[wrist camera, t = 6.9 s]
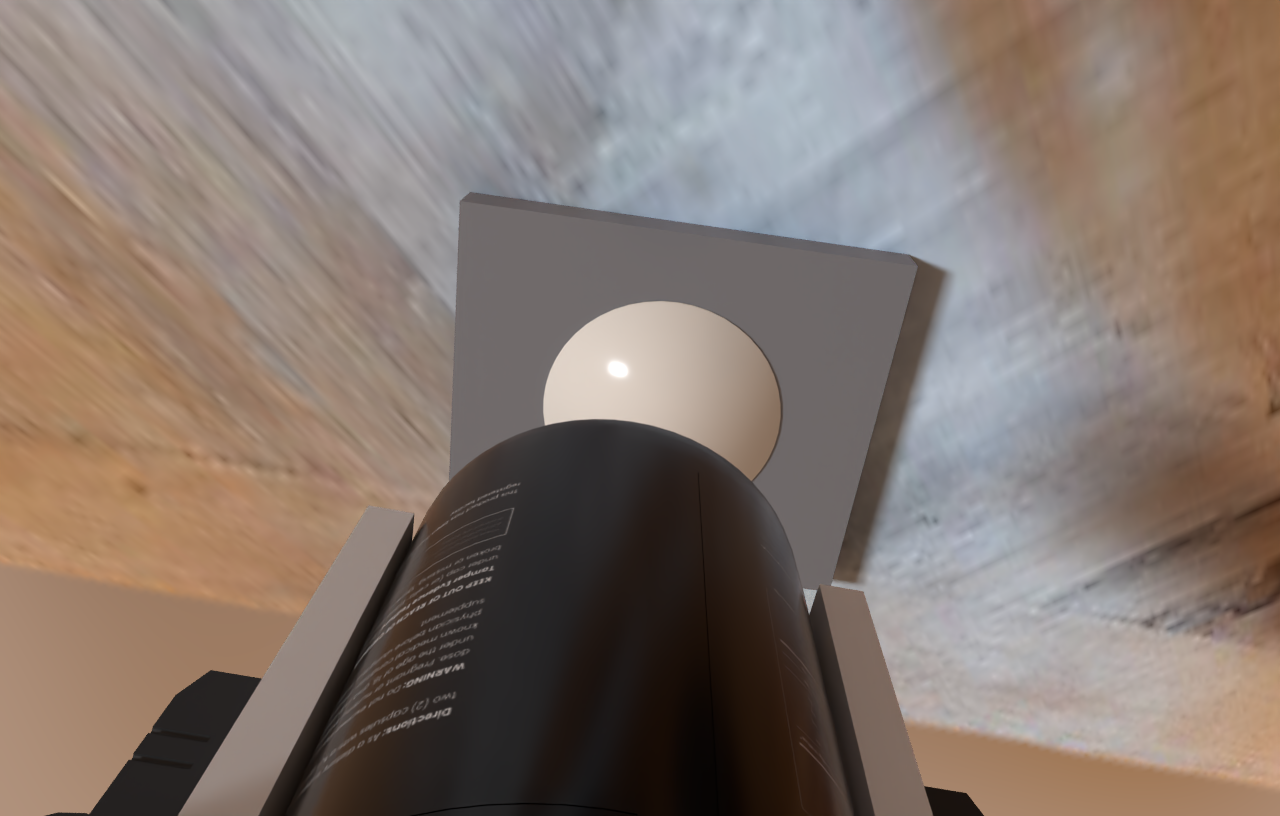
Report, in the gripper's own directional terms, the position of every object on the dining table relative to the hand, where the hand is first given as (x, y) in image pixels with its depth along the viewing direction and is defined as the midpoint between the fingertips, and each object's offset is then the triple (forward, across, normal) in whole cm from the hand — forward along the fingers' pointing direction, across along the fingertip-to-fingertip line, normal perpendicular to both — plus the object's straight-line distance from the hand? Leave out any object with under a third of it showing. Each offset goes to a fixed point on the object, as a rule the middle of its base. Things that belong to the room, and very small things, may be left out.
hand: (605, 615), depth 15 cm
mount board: (+20, -2, +4) cm, 20 cm away
